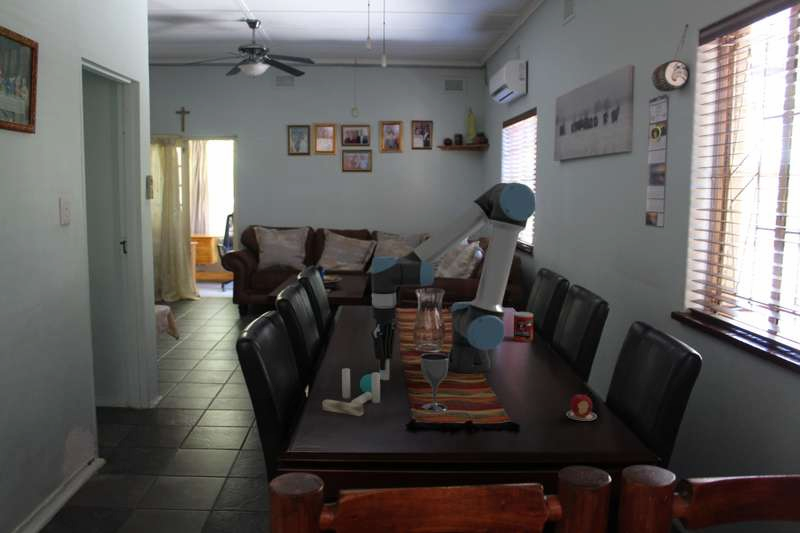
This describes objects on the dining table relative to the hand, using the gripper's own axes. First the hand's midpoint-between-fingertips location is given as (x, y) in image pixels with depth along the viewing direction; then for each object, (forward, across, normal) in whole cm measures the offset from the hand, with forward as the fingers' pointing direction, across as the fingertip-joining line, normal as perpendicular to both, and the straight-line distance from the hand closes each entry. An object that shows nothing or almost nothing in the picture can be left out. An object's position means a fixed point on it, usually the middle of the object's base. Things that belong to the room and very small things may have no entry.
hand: (384, 379), depth 206 cm
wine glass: (+2, +13, +22) cm, 26 cm away
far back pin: (+2, +16, -5) cm, 16 cm away
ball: (-1, +10, 0) cm, 10 cm away
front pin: (+1, +14, +2) cm, 15 cm away
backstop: (+2, +27, 0) cm, 27 cm away
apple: (+2, +3, +62) cm, 62 cm away
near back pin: (+2, +16, +5) cm, 16 cm away
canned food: (+2, -77, +24) cm, 81 cm away
